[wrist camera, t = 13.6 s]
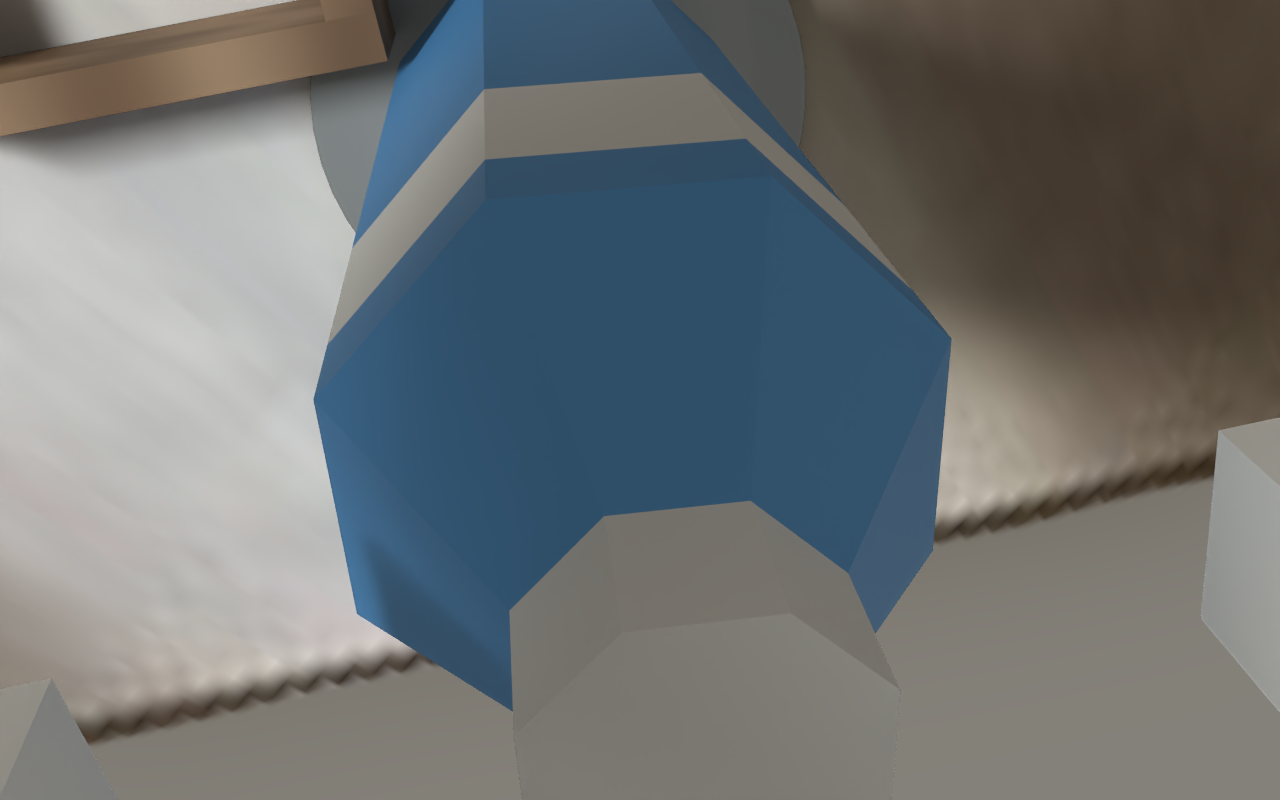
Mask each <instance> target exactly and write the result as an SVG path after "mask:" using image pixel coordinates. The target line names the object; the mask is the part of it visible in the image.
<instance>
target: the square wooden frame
mask: <svg viewBox="0 0 1280 800" xmlns="http://www.w3.org/2000/svg"><path fill="white" fill-rule="evenodd" d="M395 35H396V34H395V30H394V26H393V22H392V18H391V14H390V10H389V7H388V3H387V0H297V1H292V2H287V3H282V4H277V5H271V6H266V7H261V8H256V9H251V10H245V11H240V12H235V13H230V14H225V15H220V16H214V17H209V18H204V19H199V20H194V21H188V22H183V23H178V24H173V25H168V26H162V27H157V28H152V29H147V30H142V31H136V32H131V33H126V34H121V35H116V36H110V37H105V38H100V39H95V40H90V41H85V42H79V43H74V44H69V45H64V46H59V47H53V48H48V49H43V50H38V51H33V52H27V53H22V54H17V55H12V56H7V57H1V58H0V136H4V135H9V134H14V133H20V132H25V131H30V130H35V129H40V128H45V127H50V126H56V125H61V124H66V123H71V122H76V121H81V120H86V119H92V118H97V117H102V116H107V115H112V114H117V113H123V112H128V111H133V110H138V109H143V108H148V107H153V106H159V105H164V104H169V103H174V102H179V101H184V100H189V99H195V98H200V97H205V96H210V95H215V94H220V93H226V92H231V91H236V90H241V89H246V88H251V87H256V86H262V85H267V84H272V83H277V82H282V81H287V80H292V79H298V78H303V77H308V76H313V75H318V74H323V73H329V72H334V71H339V70H344V69H349V68H354V67H359V66H365V65H370V64H375V63H380V62H385V61H388V58H389V55H390V51H391V48H392V45H393V41H394V38H395Z"/></svg>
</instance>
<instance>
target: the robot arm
mask: <svg viewBox="0 0 1280 800" xmlns="http://www.w3.org/2000/svg"><path fill="white" fill-rule="evenodd" d="M1213 484H1214V485H1213V494H1212V504H1211V514H1210V525H1209V535H1208V545H1207V556H1206V566H1205V576H1204V587H1203V597H1202V607H1201V619H1202V620H1203V621H1204V623H1205V624H1206V625H1207V626H1208V628H1209V629H1210V630H1211V631H1212V632H1213V634H1214V635H1215V636H1216V637H1217V638H1218V640H1219V641H1220V642H1221V643H1222V644H1223V645H1224V647H1225V648H1226V649H1227V650H1228V651H1229V653H1230V654H1231V655H1232V656H1233V657H1234V659H1235V660H1236V661H1237V662H1238V663H1239V665H1240V666H1241V667H1242V668H1243V669H1244V670H1245V672H1246V673H1247V674H1248V675H1249V677H1250V678H1251V679H1252V680H1253V681H1254V682H1255V684H1256V685H1257V686H1258V687H1259V688H1260V689H1261V691H1262V692H1263V693H1264V694H1265V696H1266V697H1267V698H1268V699H1269V700H1270V702H1271V703H1272V704H1273V705H1274V706H1275V708H1276V709H1277V710H1278V711H1279V712H1280V418H1275V419H1270V420H1265V421H1261V422H1256V423H1251V424H1247V425H1242V426H1237V427H1232V428H1228V429H1223V430H1219V431H1218V442H1217V452H1216V462H1215V473H1214V483H1213ZM0 800H118V798H117V797H116V795H115V793H114V791H113V789H112V788H111V786H110V784H109V782H108V780H107V779H106V777H105V775H104V773H103V771H102V769H101V768H100V766H99V764H98V762H97V760H96V759H95V757H94V755H93V753H92V751H91V749H90V748H89V746H88V744H87V742H86V740H85V739H84V737H83V735H82V733H81V731H80V729H79V728H78V726H77V724H76V722H75V720H74V719H73V717H72V715H71V713H70V711H69V709H68V708H67V706H66V704H65V702H64V700H63V699H62V697H61V695H60V693H59V691H58V690H57V688H56V686H55V684H54V682H53V680H52V679H46V680H41V681H37V682H32V683H27V684H23V685H18V686H13V687H8V688H4V689H0Z"/></svg>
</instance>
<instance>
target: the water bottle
mask: <svg viewBox="0 0 1280 800" xmlns="http://www.w3.org/2000/svg"><path fill="white" fill-rule="evenodd" d="M950 348H951V338H950V336H949V335H948V334H947V333H946V331H945V330H944V329H943V328H942V326H941V325H940V324H939V323H938V321H937V320H936V319H935V318H934V316H933V315H932V314H931V313H930V311H929V310H928V309H927V308H926V306H925V305H924V304H923V303H922V301H921V300H920V299H919V298H918V296H917V295H916V294H915V293H914V291H913V290H912V289H911V288H910V286H909V285H908V284H907V283H906V281H905V280H904V279H903V278H902V276H901V275H900V274H899V273H898V271H897V270H896V269H895V268H894V266H893V265H892V264H891V263H890V261H889V260H888V259H887V258H886V256H885V255H884V254H883V253H882V251H881V250H880V249H879V248H878V246H877V245H876V244H875V243H874V241H873V240H872V239H871V238H870V236H869V235H868V234H867V233H866V231H865V230H864V229H863V228H862V226H861V225H860V224H859V223H858V221H857V220H856V219H855V218H854V216H853V215H852V214H851V213H850V211H849V210H848V209H847V208H846V206H845V205H844V204H843V203H842V201H841V200H840V199H839V198H838V196H837V195H836V194H835V193H834V191H833V190H832V189H831V188H830V186H829V185H828V184H827V183H826V181H825V180H824V179H823V178H822V176H821V175H820V174H819V173H818V171H817V170H816V169H815V168H814V166H813V165H812V164H811V163H810V161H809V160H808V159H807V158H806V156H805V155H804V154H803V153H802V151H801V150H800V149H799V148H798V146H797V145H796V144H795V143H794V141H793V140H792V139H791V138H790V136H789V135H788V134H787V133H786V131H785V130H784V129H783V128H782V126H781V125H780V124H779V123H778V121H777V120H776V119H775V118H774V116H773V115H772V114H771V113H770V111H769V110H768V109H767V108H766V106H765V105H764V104H763V103H762V101H761V100H760V99H759V98H758V96H757V95H756V94H755V93H754V91H753V90H752V89H751V88H750V86H749V85H748V84H747V83H746V81H745V80H744V79H743V78H742V76H741V75H740V74H739V73H738V71H737V70H736V69H735V68H734V66H733V65H732V64H731V63H730V61H729V60H728V59H727V58H726V56H725V55H724V54H723V53H722V51H721V50H720V49H719V48H718V46H717V45H716V44H715V43H714V41H713V40H712V39H711V38H710V37H709V36H708V35H707V34H706V33H705V32H704V31H703V30H702V29H700V28H699V27H698V26H697V25H696V24H695V23H694V22H693V21H692V20H691V19H690V18H689V17H688V16H687V15H686V14H685V13H684V12H682V11H681V10H680V9H679V8H678V7H677V6H676V5H675V4H674V3H673V2H672V1H671V0H449V1H448V2H447V3H446V4H445V6H444V7H443V8H442V9H441V11H440V12H439V13H438V14H437V16H436V17H435V18H434V19H433V21H432V22H431V23H430V24H429V26H428V27H427V28H426V29H425V31H424V32H423V33H422V34H421V36H420V37H419V38H418V40H417V41H416V42H415V43H414V45H413V46H412V47H411V48H410V50H409V51H408V52H407V53H406V55H405V56H404V57H403V58H402V60H401V61H400V63H399V67H398V71H397V75H396V79H395V83H394V87H393V91H392V94H391V98H390V102H389V106H388V110H387V114H386V118H385V122H384V126H383V130H382V134H381V138H380V141H379V145H378V149H377V153H376V157H375V161H374V165H373V169H372V173H371V177H370V181H369V185H368V188H367V192H366V196H365V200H364V204H363V208H362V212H361V216H360V220H359V224H358V228H357V231H356V235H355V239H354V243H353V247H352V251H351V255H350V259H349V263H348V267H347V271H346V275H345V278H344V282H343V286H342V290H341V294H340V298H339V302H338V306H337V310H336V314H335V318H334V321H333V325H332V329H331V333H330V337H329V341H328V345H327V349H326V353H325V357H324V361H323V365H322V368H321V372H320V376H319V380H318V384H317V388H316V392H315V396H314V404H315V409H316V414H317V419H318V424H319V429H320V434H321V439H322V444H323V449H324V453H325V458H326V463H327V468H328V473H329V478H330V483H331V488H332V493H333V498H334V503H335V508H336V512H337V517H338V522H339V527H340V532H341V537H342V542H343V547H344V552H345V557H346V562H347V566H348V571H349V576H350V581H351V586H352V591H353V596H354V601H355V606H356V611H357V614H358V615H360V616H361V617H363V618H364V619H366V620H368V621H369V622H371V623H372V624H374V625H376V626H377V627H379V628H380V629H382V630H383V631H385V632H387V633H388V634H390V635H391V636H393V637H395V638H396V639H398V640H399V641H401V642H403V643H404V644H406V645H407V646H409V647H411V648H412V649H414V650H415V651H417V652H419V653H420V654H422V655H423V656H425V657H427V658H428V659H430V660H431V661H433V662H435V663H436V664H438V665H439V666H441V667H443V668H444V669H446V670H447V671H449V672H451V673H452V674H454V675H455V676H457V677H459V678H460V679H462V680H463V681H465V682H466V683H468V684H470V685H471V686H473V687H474V688H476V689H478V690H479V691H481V692H482V693H484V694H486V695H487V696H489V697H491V698H492V699H494V700H495V701H497V702H499V703H500V704H502V705H503V706H505V707H506V708H508V709H510V710H511V711H513V730H514V742H515V750H516V757H517V764H518V773H519V780H520V787H521V795H522V800H892V792H893V778H894V766H895V754H896V753H895V752H896V741H897V727H898V715H899V702H900V688H899V686H898V684H897V681H896V679H895V677H894V675H893V673H892V670H891V668H890V666H889V663H888V661H887V659H886V657H885V654H884V652H883V650H882V648H881V645H880V643H879V641H878V639H877V637H876V634H875V633H876V632H877V630H878V629H879V627H880V626H881V625H882V623H883V622H884V620H885V619H886V617H887V616H888V614H889V613H890V612H891V610H892V609H893V607H894V606H895V604H896V603H897V601H898V600H899V599H900V597H901V596H902V594H903V593H904V591H905V590H906V588H907V587H908V586H909V584H910V583H911V581H912V580H913V578H914V577H915V575H916V574H917V573H918V571H919V570H920V568H921V567H922V565H923V564H924V562H925V561H926V560H927V558H928V557H929V555H930V554H931V552H932V551H933V540H934V529H935V518H936V507H937V495H938V484H939V473H940V461H941V450H942V439H943V428H944V416H945V405H946V394H947V382H948V371H949V360H950Z"/></svg>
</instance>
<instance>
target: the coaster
mask: <svg viewBox="0 0 1280 800" xmlns="http://www.w3.org/2000/svg"><path fill="white" fill-rule="evenodd" d="M448 1H449V0H387V3H388V7H389V10H390V14H391V18H392V22H393V26H394V30H395V34H396V35H395V38H394V41H393V45H392V48H391V51H390V55H389V58H388V61H385V62H380V63H375V64H370V65H365V66H359V67H354V68H349V69H344V70H339V71H334V72H329V73H323V74H318V75H313V76H311V94H310V100H311V110H312V120H313V130H314V135H315V139H316V143H317V148H318V152H319V156H320V160H321V164H322V167H323V169H324V172H325V175H326V177H327V180H328V182H329V185H330V188H331V190H332V193H333V195H334V197H335V199H336V200H337V202H338V204H339V206H340V208H341V210H342V212H343V213H344V215H345V217H346V219H347V221H348V222H349V224H350V225H351V227H352V228H353V229H354V231H355V232H356V231H357V228H358V224H359V220H360V216H361V212H362V208H363V204H364V200H365V196H366V192H367V188H368V185H369V181H370V177H371V173H372V169H373V165H374V161H375V157H376V153H377V149H378V145H379V141H380V138H381V134H382V130H383V126H384V122H385V118H386V114H387V110H388V106H389V102H390V98H391V94H392V91H393V87H394V83H395V79H396V75H397V71H398V67H399V63H400V61H401V60H402V58H403V57H404V56H405V55H406V53H407V52H408V51H409V50H410V48H411V47H412V46H413V45H414V43H415V42H416V41H417V40H418V38H419V37H420V36H421V34H422V33H423V32H424V31H425V29H426V28H427V27H428V26H429V24H430V23H431V22H432V21H433V19H434V18H435V17H436V16H437V14H438V13H439V12H440V11H441V9H442V8H443V7H444V6H445V4H446V3H447V2H448ZM671 1H672V2H673V3H674V4H675V5H676V6H677V7H678V8H679V9H680V10H681V11H682V12H684V13H685V14H686V15H687V16H688V17H689V18H690V19H691V20H692V21H693V22H694V23H695V24H696V25H697V26H698V27H699V28H700V29H702V30H703V31H704V32H705V33H706V34H707V35H708V36H709V37H710V38H711V39H712V40H713V41H714V43H715V44H716V45H717V46H718V48H719V49H720V50H721V51H722V53H723V54H724V55H725V56H726V58H727V59H728V60H729V61H730V63H731V64H732V65H733V66H734V68H735V69H736V70H737V71H738V73H739V74H740V75H741V76H742V78H743V79H744V80H745V81H746V83H747V84H748V85H749V86H750V88H751V89H752V90H753V91H754V93H755V94H756V95H757V96H758V98H759V99H760V100H761V101H762V103H763V104H764V105H765V106H766V108H767V109H768V110H769V111H770V113H771V114H772V115H773V116H774V118H775V119H776V120H777V121H778V123H779V124H780V125H781V126H782V128H783V129H784V130H785V131H786V133H787V134H788V135H789V136H790V138H791V139H792V140H793V141H794V143H795V144H796V145H797V146H798V148H799V145H800V141H801V137H802V132H803V124H804V114H805V104H806V86H805V65H804V59H803V53H802V46H801V40H800V35H799V32H798V28H797V25H796V22H795V18H794V15H793V12H792V8H791V5H790V3H789V0H671Z"/></svg>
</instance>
